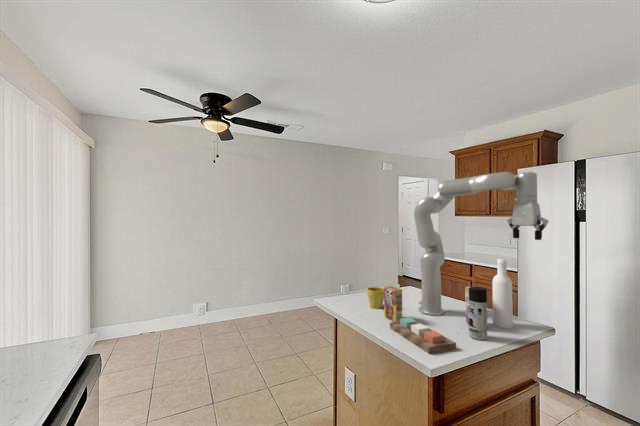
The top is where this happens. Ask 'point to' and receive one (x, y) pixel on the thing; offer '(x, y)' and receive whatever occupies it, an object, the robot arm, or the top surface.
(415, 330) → the cream button
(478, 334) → the spray can
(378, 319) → the top surface
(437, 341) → the brick red button
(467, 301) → the candy bar box
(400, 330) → the control board
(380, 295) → the plant pot
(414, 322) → the teal button
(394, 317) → the candy box
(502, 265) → the bottle
